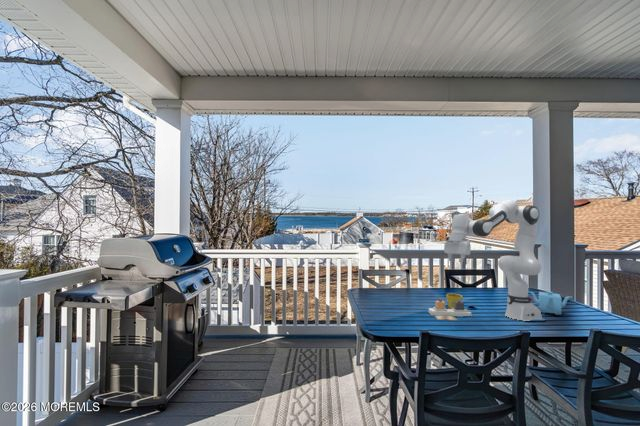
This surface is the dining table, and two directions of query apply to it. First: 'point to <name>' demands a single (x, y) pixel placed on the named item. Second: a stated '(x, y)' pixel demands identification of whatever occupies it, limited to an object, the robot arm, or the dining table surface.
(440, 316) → the cork mat
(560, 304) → the teakettle
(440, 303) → the orange charger
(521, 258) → the robot arm
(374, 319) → the dining table surface
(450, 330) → the dining table surface
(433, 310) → the power strip
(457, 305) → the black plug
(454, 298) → the plant pot
